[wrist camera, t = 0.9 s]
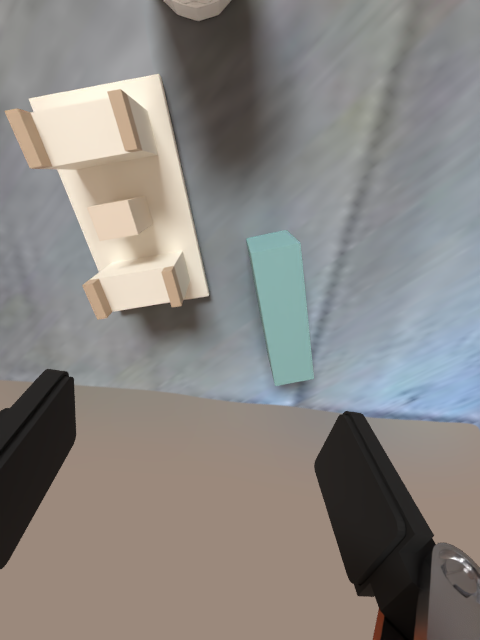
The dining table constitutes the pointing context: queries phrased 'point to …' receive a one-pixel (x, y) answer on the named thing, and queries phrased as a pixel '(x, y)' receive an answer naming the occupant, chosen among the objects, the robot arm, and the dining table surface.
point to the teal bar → (282, 305)
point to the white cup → (197, 8)
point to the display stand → (120, 189)
